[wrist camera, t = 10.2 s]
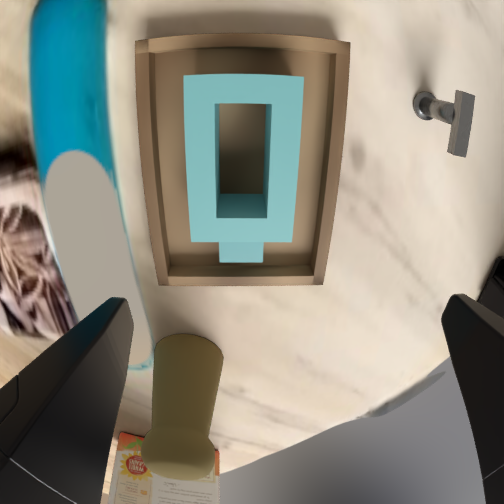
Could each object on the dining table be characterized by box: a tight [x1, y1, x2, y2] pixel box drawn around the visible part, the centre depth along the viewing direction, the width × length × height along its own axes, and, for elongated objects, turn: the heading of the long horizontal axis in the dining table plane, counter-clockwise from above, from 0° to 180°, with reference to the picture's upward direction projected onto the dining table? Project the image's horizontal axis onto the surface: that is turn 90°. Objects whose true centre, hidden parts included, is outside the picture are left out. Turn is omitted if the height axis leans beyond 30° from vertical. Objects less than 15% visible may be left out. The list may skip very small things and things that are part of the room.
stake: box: [413, 90, 475, 157], centre depth 14 cm, size 2×3×4 cm, turn 179°
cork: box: [140, 334, 224, 480], centre depth 21 cm, size 6×6×11 cm
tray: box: [135, 33, 350, 286], centre depth 17 cm, size 10×14×2 cm
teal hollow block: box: [184, 74, 304, 262], centre depth 16 cm, size 10×5×3 cm, turn 179°
